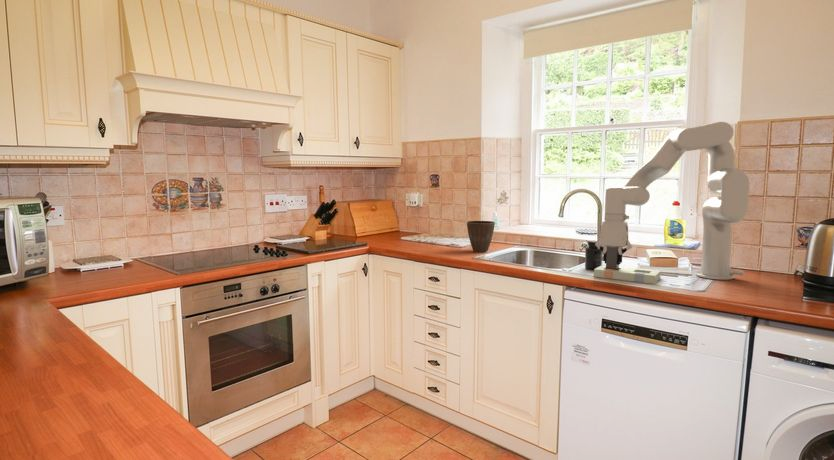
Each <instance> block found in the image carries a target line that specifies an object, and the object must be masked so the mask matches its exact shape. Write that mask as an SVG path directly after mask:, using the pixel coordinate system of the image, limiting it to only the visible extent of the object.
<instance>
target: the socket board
mask: <svg viewBox="0 0 834 460" xmlns="http://www.w3.org/2000/svg"><path fill="white" fill-rule="evenodd" d="M661 274H662V270H657V269H646V268H637V267H629V266H628V267H625V266H619V270H613V269H606V264H602V265H601V266H599V267H597V268H596V269H594V270H593V277H594V278H600V279H601V278H603V279H609V280H610V279H611V280H621V281H626V282H628V281H629V282H636V283H644V282H645V284H654V285H655V284H657V282H658V281H660V279H661Z"/></svg>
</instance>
